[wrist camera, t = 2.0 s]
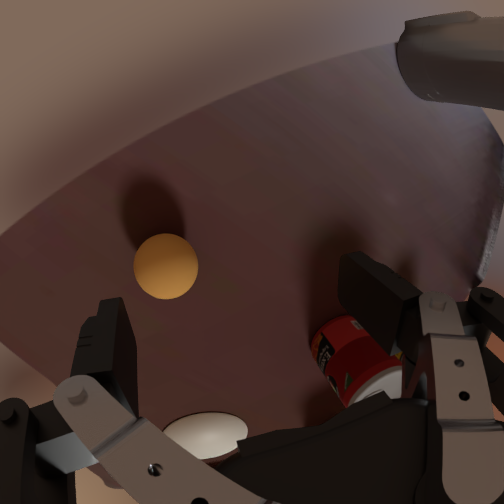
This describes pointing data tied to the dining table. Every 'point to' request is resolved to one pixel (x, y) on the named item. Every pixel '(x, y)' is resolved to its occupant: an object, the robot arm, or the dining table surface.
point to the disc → (207, 433)
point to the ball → (165, 266)
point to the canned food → (355, 361)
